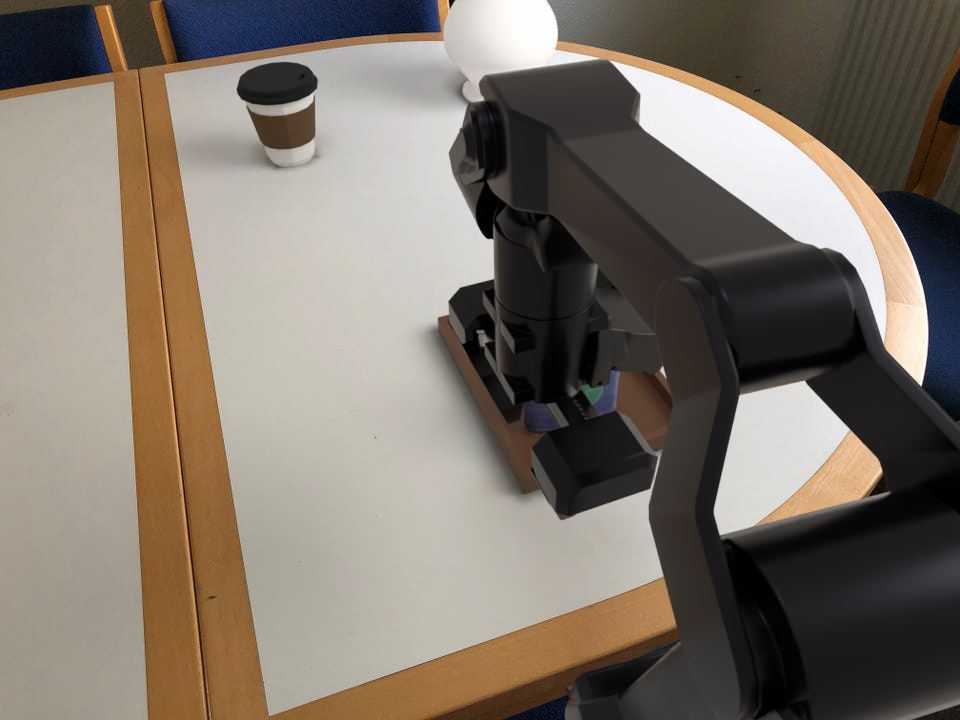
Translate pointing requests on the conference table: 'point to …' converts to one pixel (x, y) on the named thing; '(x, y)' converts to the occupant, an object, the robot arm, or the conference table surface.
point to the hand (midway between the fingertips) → (538, 465)
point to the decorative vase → (498, 38)
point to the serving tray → (635, 398)
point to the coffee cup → (282, 109)
